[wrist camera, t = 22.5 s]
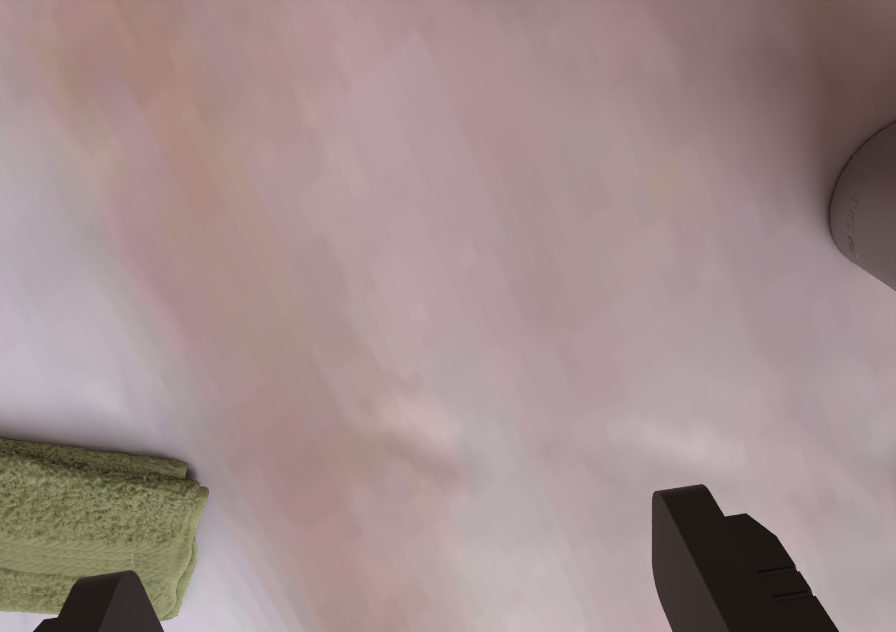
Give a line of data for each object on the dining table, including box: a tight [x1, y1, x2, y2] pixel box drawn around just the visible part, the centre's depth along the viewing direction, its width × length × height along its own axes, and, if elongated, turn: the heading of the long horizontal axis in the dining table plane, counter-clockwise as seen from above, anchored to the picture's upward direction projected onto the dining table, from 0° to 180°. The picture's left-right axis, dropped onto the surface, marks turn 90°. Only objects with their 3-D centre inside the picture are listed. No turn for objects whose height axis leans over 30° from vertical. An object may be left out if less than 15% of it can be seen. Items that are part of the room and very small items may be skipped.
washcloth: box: [0, 437, 209, 621], centre depth 45 cm, size 13×18×3 cm
